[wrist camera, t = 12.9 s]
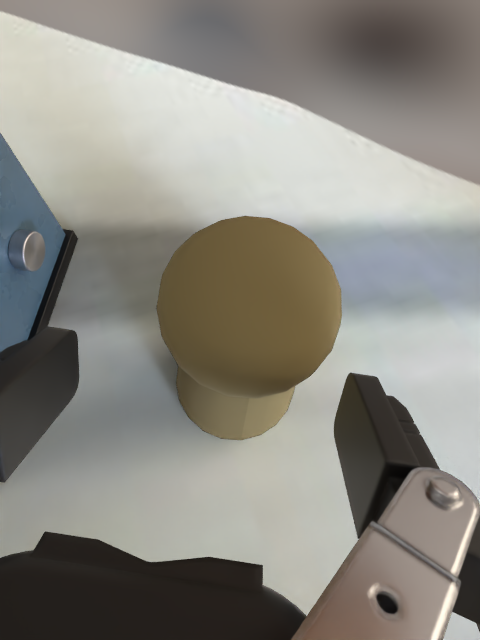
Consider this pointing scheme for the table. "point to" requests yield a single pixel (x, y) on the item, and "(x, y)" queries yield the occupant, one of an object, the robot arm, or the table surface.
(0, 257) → the toaster
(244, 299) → the cork
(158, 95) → the table surface
